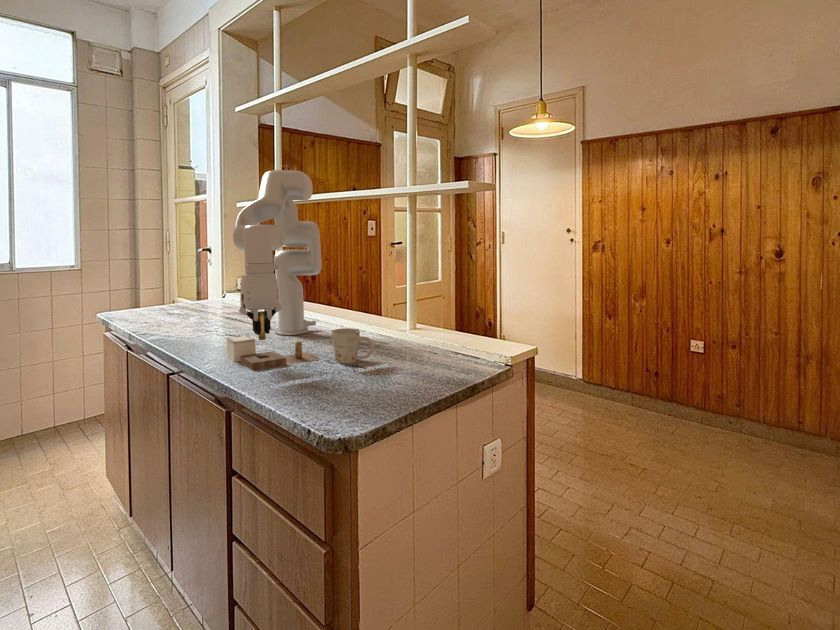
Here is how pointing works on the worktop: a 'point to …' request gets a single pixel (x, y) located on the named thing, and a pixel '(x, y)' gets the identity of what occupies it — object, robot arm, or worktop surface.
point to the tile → (304, 358)
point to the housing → (240, 347)
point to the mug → (348, 345)
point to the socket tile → (263, 360)
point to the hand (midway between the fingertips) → (261, 333)
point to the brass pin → (262, 325)
